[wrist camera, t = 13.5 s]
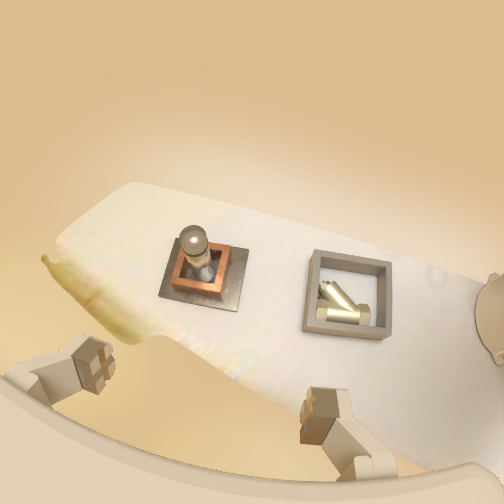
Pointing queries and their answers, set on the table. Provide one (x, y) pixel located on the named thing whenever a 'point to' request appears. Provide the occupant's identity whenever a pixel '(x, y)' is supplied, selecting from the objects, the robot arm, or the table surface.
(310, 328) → the parts corral
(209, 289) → the collar
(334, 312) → the pipe fitting
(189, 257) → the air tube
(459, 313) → the table surface
